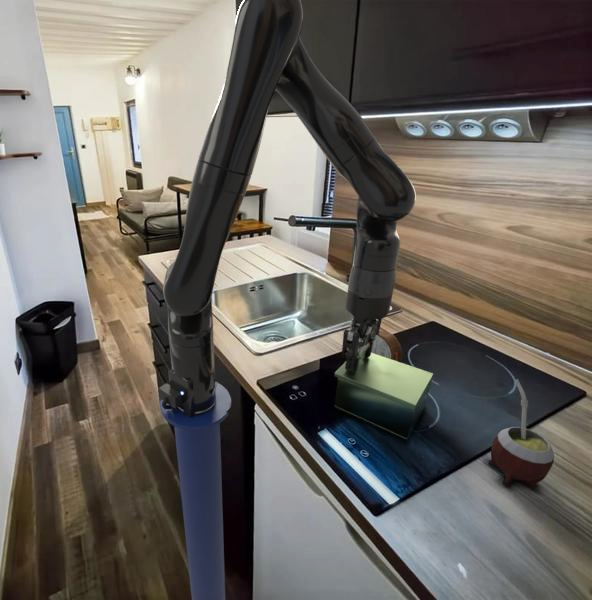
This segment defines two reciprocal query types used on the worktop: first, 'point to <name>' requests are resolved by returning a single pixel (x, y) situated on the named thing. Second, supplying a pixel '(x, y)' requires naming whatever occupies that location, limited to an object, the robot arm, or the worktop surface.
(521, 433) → the mate gourd
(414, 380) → the lid
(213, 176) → the robot arm
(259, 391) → the worktop surface
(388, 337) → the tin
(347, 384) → the green box
